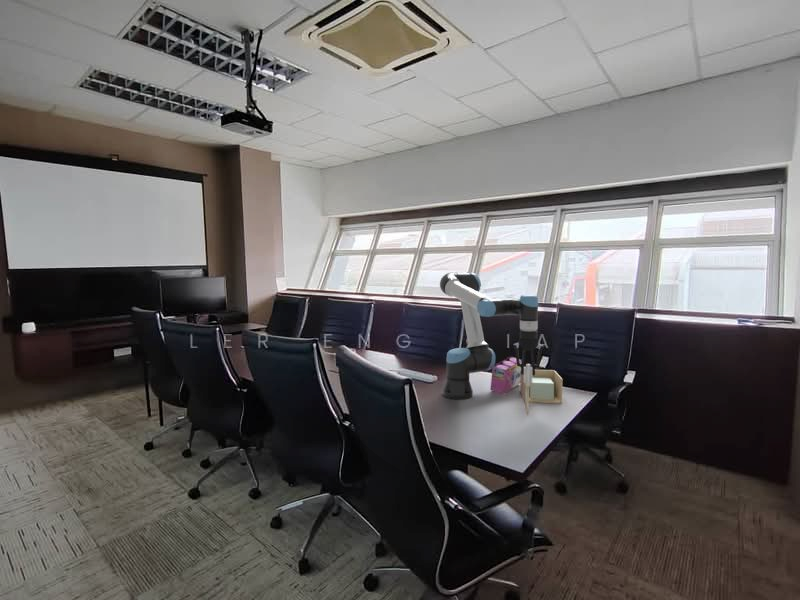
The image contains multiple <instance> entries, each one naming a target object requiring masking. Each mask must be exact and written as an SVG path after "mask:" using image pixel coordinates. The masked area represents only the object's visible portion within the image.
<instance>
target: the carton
mask: <svg viewBox="0 0 800 600" xmlns="http://www.w3.org/2000/svg"><path fill="white" fill-rule="evenodd" d="M525 378H526V375H525ZM563 380H564V379H563V378H562V377H561V375H559V373H558V372H557V371H556V370H554V369H535V375H532V383H530V387H529V403H544V404H563ZM519 385H520V390H519V392H520V394H521V395H522V399H523V400H524V401H525V383H524V375H521V381H520V384H519Z"/></svg>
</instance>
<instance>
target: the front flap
mask: <svg viewBox="0 0 800 600" xmlns="http://www.w3.org/2000/svg"><path fill="white" fill-rule="evenodd" d="M525 367H526V378H525V400H524V404H525V410H526V414H527V415H529V403H530V402H529V387H530V374H531V367H532V363H531V364H530V363H526V364H525Z"/></svg>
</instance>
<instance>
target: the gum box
mask: <svg viewBox="0 0 800 600" xmlns="http://www.w3.org/2000/svg"><path fill="white" fill-rule="evenodd" d="M519 361H520V363H521V362H522V358H521V359H520V358H519ZM520 381H521V367H520V366H517V361H516V357H514V356H508V357H507V358H505V359H503V360H502V361H500V362H498V363H495V364H494V366H493V368H492V370H491V380H490V391H493V392H495V393H498V394H501V395H505V394H506V393H508V392H509V391H512V389H513V388H516V386H518V385H520Z"/></svg>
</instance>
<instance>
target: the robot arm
mask: <svg viewBox="0 0 800 600" xmlns="http://www.w3.org/2000/svg"><path fill="white" fill-rule="evenodd" d="M480 279H481V278H480V277H479V276H478V274H476V273H475V272H469V271H466V272H462V271H461V272H459V271H458V272H447V273H445V274H444V275H443V276H441V279H440V281H439V288H440V290H441V291H442V293H443V294H445V295H446V296H448V297H454V298H456V299H457V300H458V301H460V306H461V310H462V317H463V323H464V327H465V332H466V337H467V338H466V339H467V343H468V344H467V345H466V347H457V348H453V349H449V350H448V352H446V361H445V362H446V379H445V383H444V385H443V389H442V395H443V396H444V397H446V398H448V399H451V400H467V399H470V398H472V397H473V395H474V391H473V387H472V385H471V382H470V381H471V380H470V375H471V374H474V373H481V372H483V373H484V372H486V371H490V370H491V369H493V366H494V365H496V354H495V352H494V350H493V349H492V348H490V347H489V343H487V342H486V341H485V338H484V337H485V336H484V331H483V326H482V322H481V317H487V318H489V317H496V316H511V315H512V316H513V315H514V316H519V329H520V330H519V340H518V342H516V343H513V346H512V347H513V349H514V352H515V358H516V361H517V366H520V367H521V375H524V383H525V375H526V366H525V361H526V355H527V352H528V351H529V352H530V360H531V374H530V383H532V375H535V370H536V368H540V365H541V360H542V359H541V358H542V355H543V354H542V353H543V350H544V348H545V346H544V344H541V343H539V341H538V333H539V331H538V329H539V327H538V325H539V324H538V321H539V319H538V318H539V317H538V316H539V315H538V314H539V313H538V312H539V300H538V296H537V295H536V294H522V295H520V297H519V298H513V297H504V298H496V299H495V298H491V297H489V296H487V295H485V294H483V293H481V292H480V290H481V286H482V283H481V280H480ZM519 346H520V348H521V349H522V356H521V359H522V362H521V363H520V361H519V359H520V355H519ZM535 349H538V351H537V352H538V353H537V359H536V363H535V353H534V350H535Z"/></svg>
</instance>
